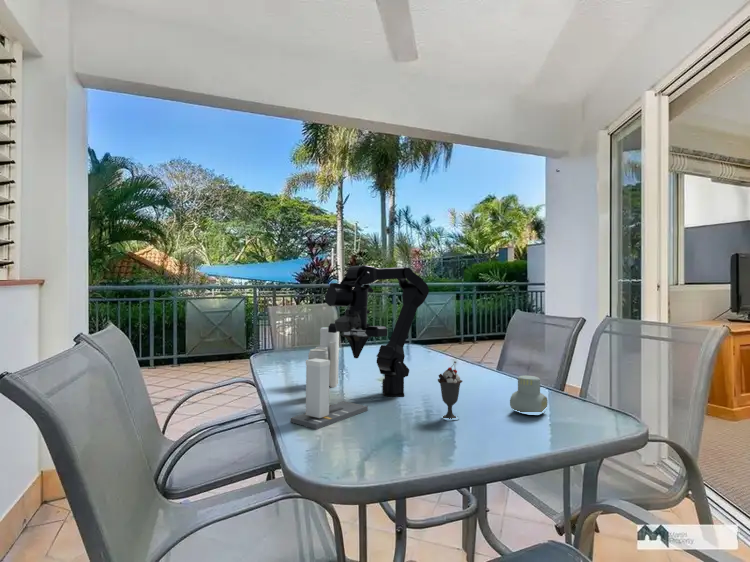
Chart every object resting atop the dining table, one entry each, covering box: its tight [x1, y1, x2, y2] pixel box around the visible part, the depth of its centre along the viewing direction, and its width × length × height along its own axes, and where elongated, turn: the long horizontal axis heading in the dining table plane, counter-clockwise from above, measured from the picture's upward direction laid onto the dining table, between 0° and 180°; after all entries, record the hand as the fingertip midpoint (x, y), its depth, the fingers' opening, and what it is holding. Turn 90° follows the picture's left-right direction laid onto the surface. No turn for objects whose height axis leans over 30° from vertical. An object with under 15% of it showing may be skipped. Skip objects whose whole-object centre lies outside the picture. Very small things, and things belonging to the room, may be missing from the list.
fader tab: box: [305, 358, 330, 418], centre depth 114 cm, size 4×5×14 cm
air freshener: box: [509, 375, 548, 412], centre depth 123 cm, size 11×8×10 cm
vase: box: [314, 326, 340, 388], centre depth 156 cm, size 11×7×20 cm, turn 170°
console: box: [289, 400, 369, 430], centre depth 118 cm, size 21×9×1 cm, turn 145°
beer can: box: [307, 348, 328, 360], centre depth 138 cm, size 6×6×15 cm
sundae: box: [437, 361, 463, 419], centre depth 118 cm, size 7×7×15 cm
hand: (356, 358), depth 134 cm, fingers closed
